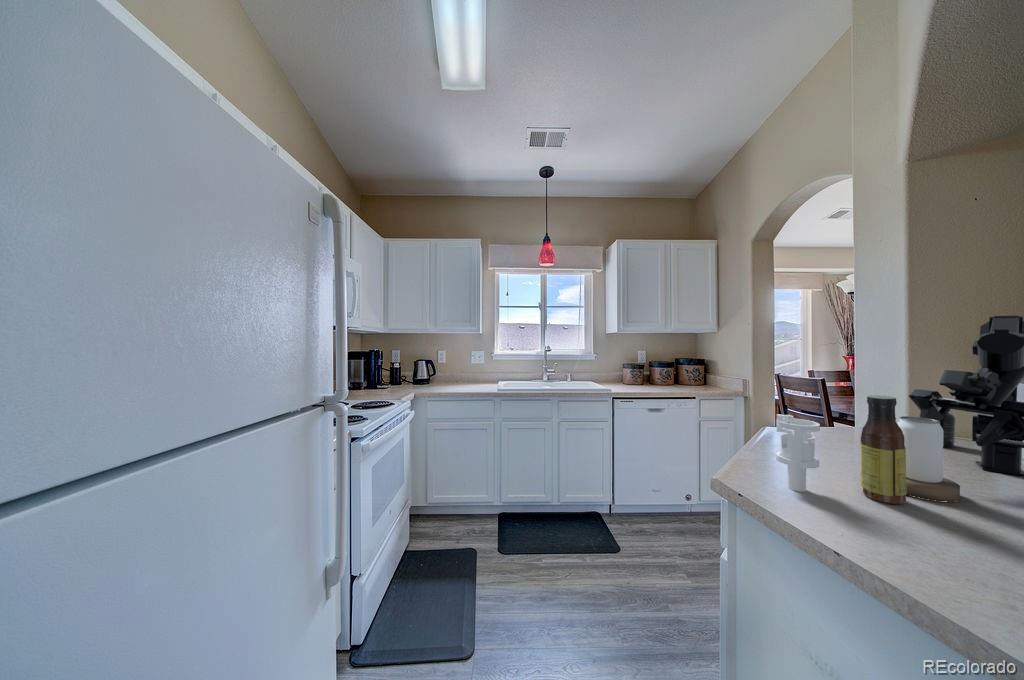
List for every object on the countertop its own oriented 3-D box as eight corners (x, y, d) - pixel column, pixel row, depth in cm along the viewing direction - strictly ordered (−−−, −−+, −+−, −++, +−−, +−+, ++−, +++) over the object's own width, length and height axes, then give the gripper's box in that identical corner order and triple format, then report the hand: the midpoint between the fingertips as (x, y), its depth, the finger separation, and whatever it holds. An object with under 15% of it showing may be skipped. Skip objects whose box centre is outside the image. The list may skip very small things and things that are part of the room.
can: (952, 485, 72) (954, 424, 72) (912, 482, 74) (913, 422, 73) (923, 473, 78) (924, 416, 78) (887, 470, 80) (888, 415, 80)
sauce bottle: (893, 494, 74) (895, 394, 74) (915, 508, 68) (917, 400, 68) (852, 489, 76) (854, 393, 76) (870, 502, 70) (872, 398, 70)
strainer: (775, 479, 82) (776, 411, 81) (816, 486, 78) (818, 415, 77) (775, 490, 76) (776, 417, 76) (820, 499, 72) (821, 422, 71)
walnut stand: (877, 475, 84) (877, 464, 84) (951, 488, 77) (952, 476, 77) (883, 491, 75) (883, 479, 75) (967, 508, 68) (967, 494, 68)
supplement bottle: (911, 441, 110) (912, 401, 110) (932, 440, 111) (933, 400, 110) (940, 448, 103) (941, 405, 103) (962, 448, 104) (963, 405, 104)
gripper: (916, 354, 86) (874, 402, 85) (1040, 360, 68) (988, 422, 67) (944, 387, 88) (903, 435, 86) (1072, 402, 69) (1023, 463, 68)
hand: (947, 438), depth 77 cm, fingers open, 9 cm apart
